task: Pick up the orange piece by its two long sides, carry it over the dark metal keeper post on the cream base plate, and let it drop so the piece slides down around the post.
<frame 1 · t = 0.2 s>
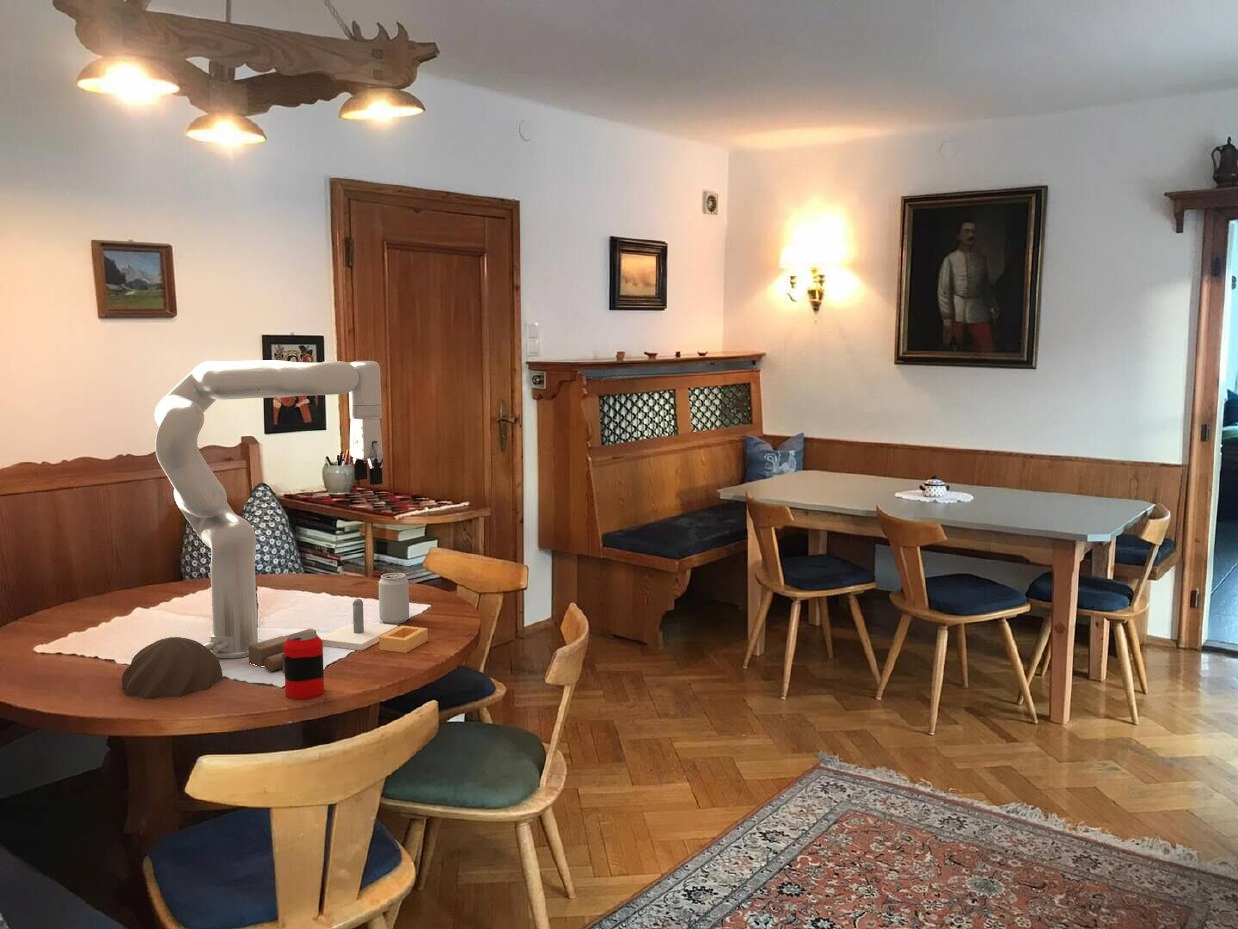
hand: (368, 481, 250), 37 cm above the table, tool pointing down, fingers open, 9 cm apart
keeper: (358, 638, 246), on the table
decorative dome: (173, 684, 215), on the table
soda can: (305, 694, 209), on the table
wooden block set: (303, 663, 229), on the table
can: (394, 621, 261), on the table
orange piece: (403, 645, 241), on the table
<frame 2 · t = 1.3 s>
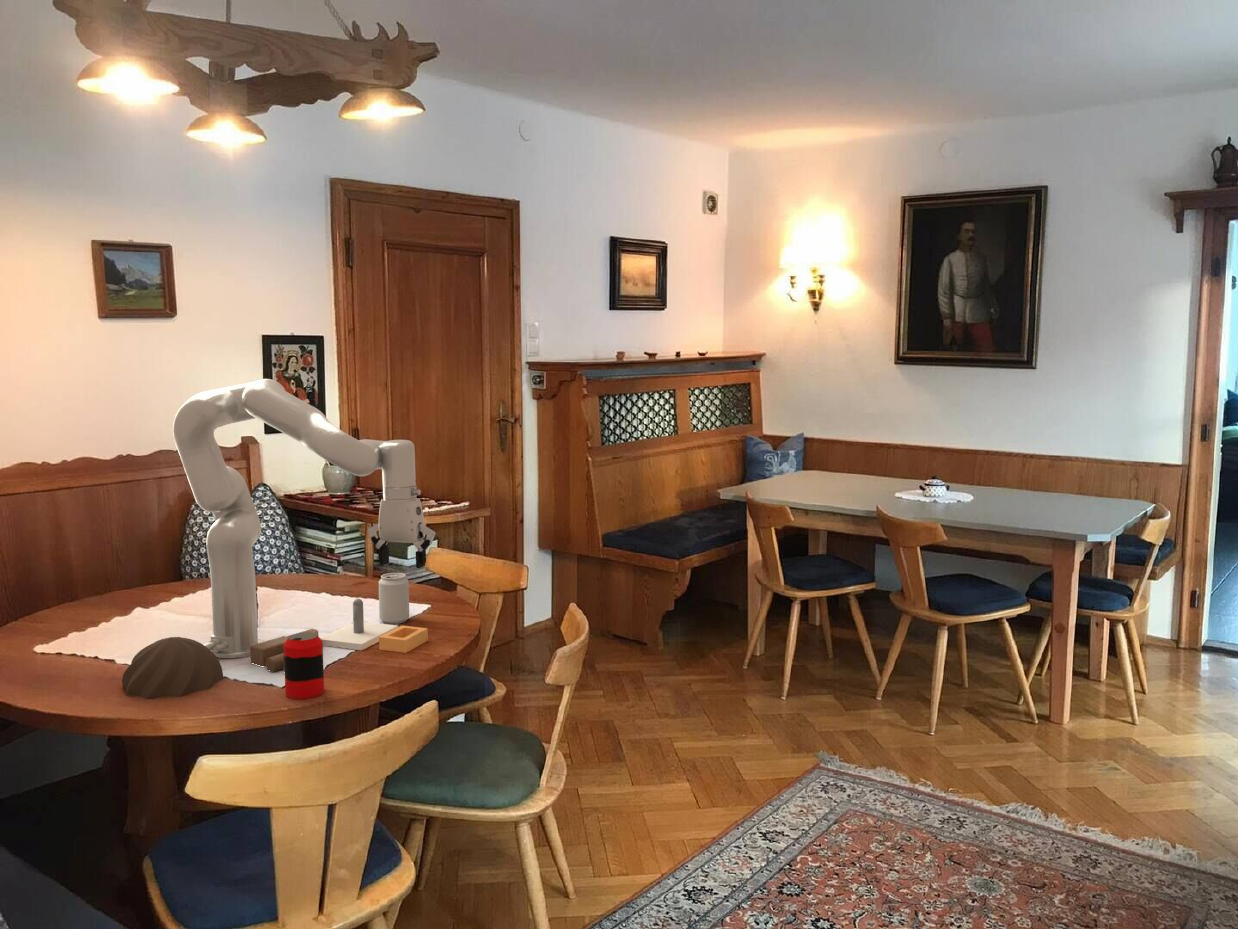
hand: (402, 565, 239), 19 cm above the table, tool pointing down, fingers open, 9 cm apart
nothing on the table moved.
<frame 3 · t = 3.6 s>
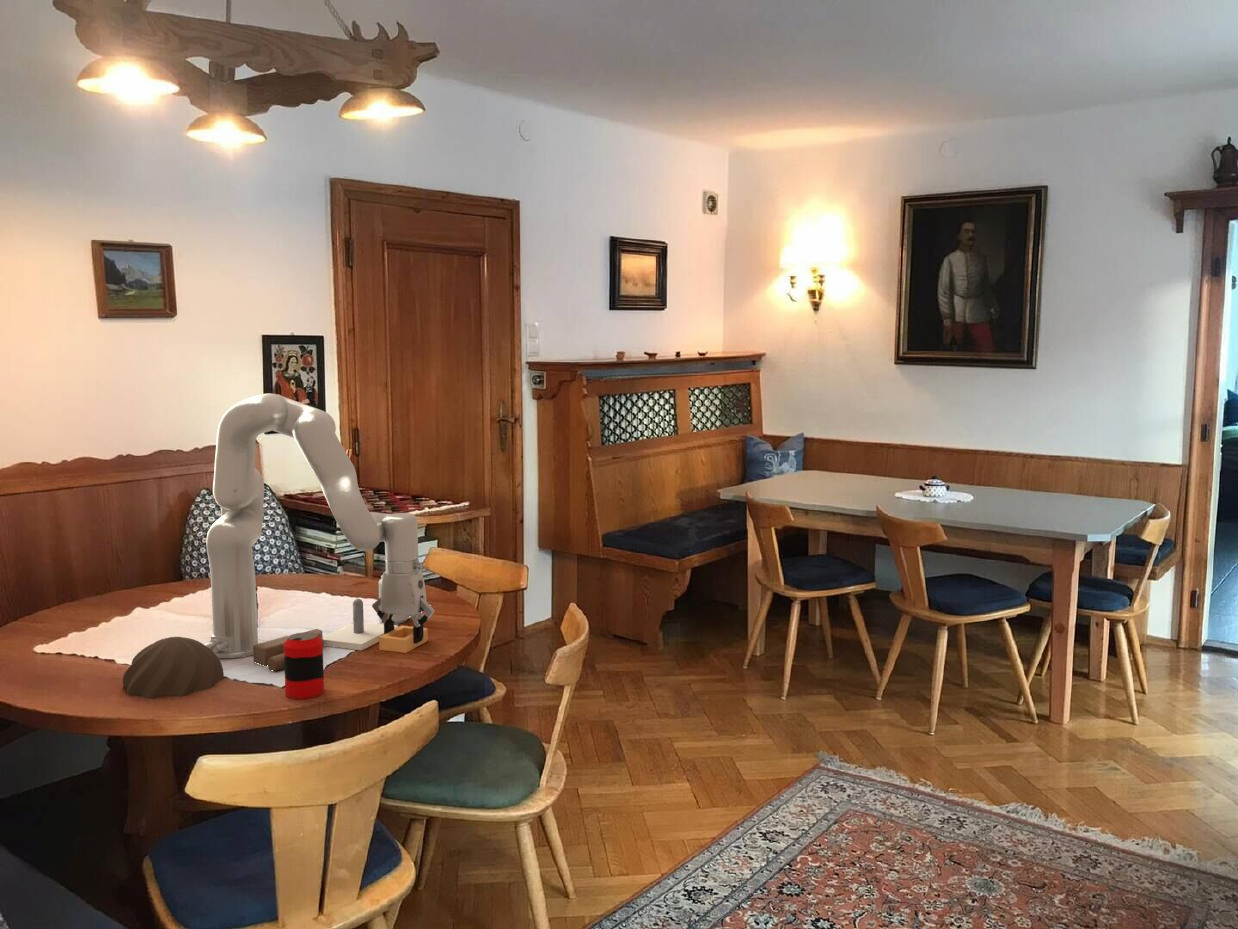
hand: (403, 639, 241), 1 cm above the table, tool pointing down, fingers closed on orange piece, 7 cm apart
orange piece: (403, 645, 241), on the table, touching gripper
everything else where it was.
when the fingers open (12 cm above the table, at t = 8.6 s): orange piece drops 9 cm, resting on keeper.
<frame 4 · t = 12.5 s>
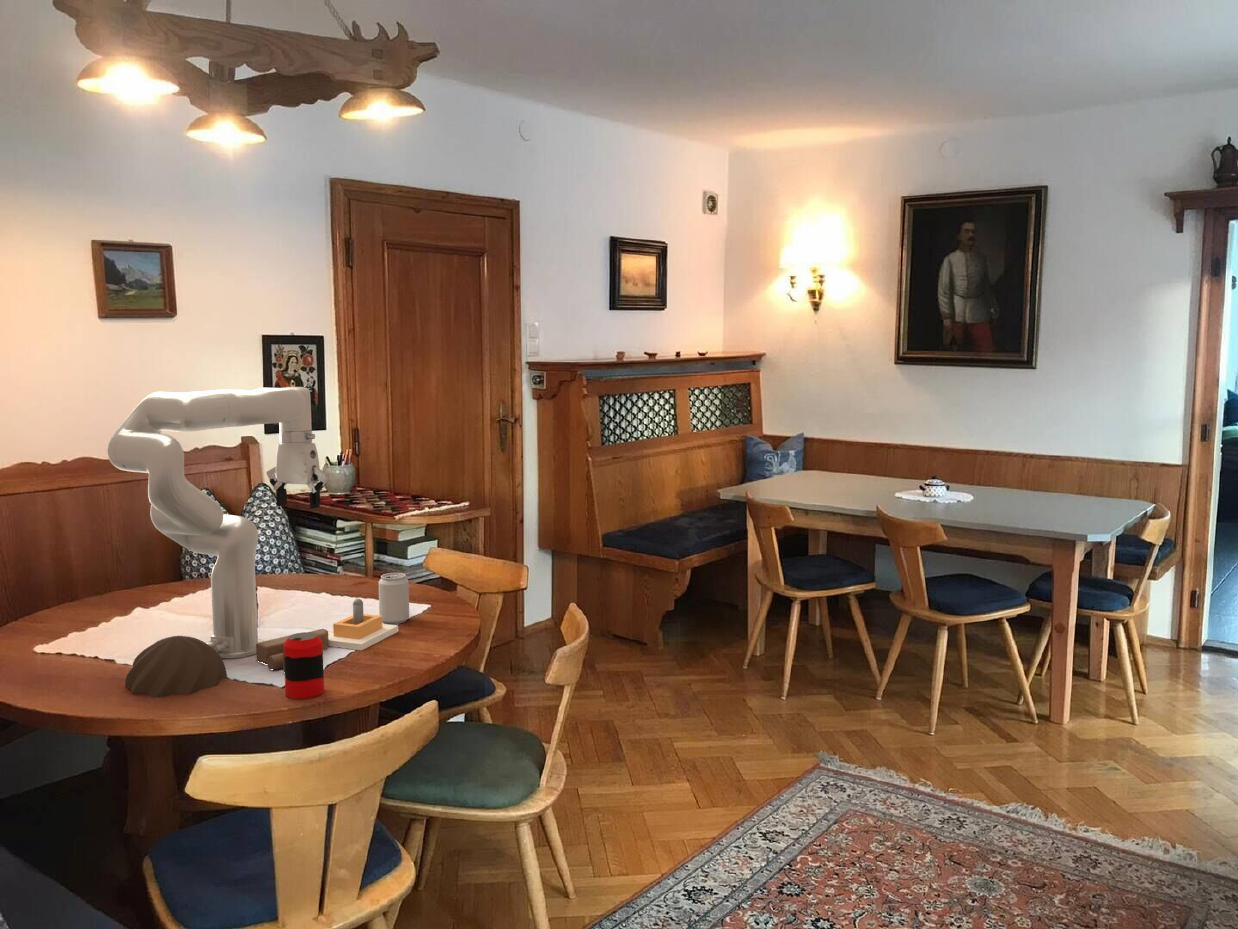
hand: (298, 506, 252), 30 cm above the table, tool pointing down, fingers open, 9 cm apart
orange piece: (358, 632, 246), point 1 cm above the table, touching keeper
at the end: orange piece 0.1 cm from the keeper (horizontally); orange piece point 1.5 cm above the table; the gripper is holding nothing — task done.
